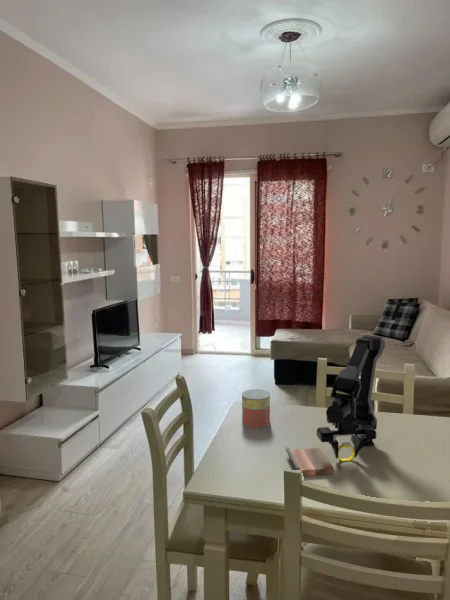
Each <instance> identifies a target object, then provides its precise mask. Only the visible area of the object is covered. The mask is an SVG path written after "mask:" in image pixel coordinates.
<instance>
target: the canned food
mask: <svg viewBox="0 0 450 600" xmlns="http://www.w3.org/2000/svg"><path fill="white" fill-rule="evenodd" d="M241 409H242V410H241V417H242V418H241V419H242V420H241V424H242V425H243V426H244V427H246V428H249V429H263V428H266V427H267V428H268V426H270V424H271V393H270V392H269V391H268V390H264V389H257V388H256V389H255V388H254V389H248V390H245V391H243V392H242V393H241Z"/></svg>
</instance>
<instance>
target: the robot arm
mask: <svg viewBox="0 0 450 600" xmlns="http://www.w3.org/2000/svg"><path fill="white" fill-rule="evenodd" d="M385 348H386V341H385V340H384V339H383V337H382V336H379V335H370V334H369V335H368V334H364V335H363V336H362V337H360V336H359V337H357V338H356V340H355V347H354V349H353V351H352V354H351V356H350V358H349V360H348V363H347V365H346V367H345V368H343V369H342V370H340V371H339V373H338V374H337V376H336V377H335V379H334V383H333V387H332V390H331V392H330V398H331V399H334V400H332V403H331V404H330V405H329V406H328V407H327V408H326V412H325V413H326V422H327V423H328V424H331V426H334V428H335V430H331V429H330V427H328V426H324V427H323V426H322V427H317V429H316V436H317V439H318V440H320V442H321V443H328V444H330V446H331V448H332V451H333V454H334V457H335V459H339V458H338V447H339V441H338V440H337V437H350V440H351V441H352V442H353V448H354V450H355V456H354V458H357V456H358V455H359V453H360V451H361V449H362V448H363V447H368V446H376V445H375V443H374V441H373V440H376V439H377V431H376V430H378V429H377V428H378V419H377V417H376V415H375V408H374V405H373V404H372V401H371V400H372V393H373V387H374V379H375V373H376V366H377V361H378V360H379V358H381V356H382V355H383V352H384V351H383V350H385Z"/></svg>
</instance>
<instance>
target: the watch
mask: <svg viewBox="0 0 450 600" xmlns="http://www.w3.org/2000/svg"><path fill="white" fill-rule="evenodd" d="M343 448H351V449H352V453H351V455H350V456H349V457H347V458H341V457H340V451H341V450H342V449H343ZM354 456H355V450H354V446H352V445H351V443H350V442H347V441H343V442H342V443H341V444H340V445H338V458H337V459H339V460H340V461H341V462H351V461H352V460H353V459H354V458H355V457H354Z"/></svg>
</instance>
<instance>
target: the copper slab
mask: <svg viewBox="0 0 450 600" xmlns="http://www.w3.org/2000/svg"><path fill="white" fill-rule="evenodd" d="M285 452H286V454H287V455H288V457H289V459H290V461H291V462H292V465H293V467H294V469H295V471H296V470H300V471H302V473H303V476H302V477H309V476H310V477H313V476H325V475H334V474H335V473H334V472H335V470H334V469H335V468H334V466H333V465H332V463H331V461H330V460H329V459H328V458H327V456H326V454H325V453H324V452H323V450H322V449H321V448H320V447H311V448H299V449H298V448H297V449H296V448H295V449H290V448H289V447H288V446H286V447H285Z"/></svg>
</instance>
